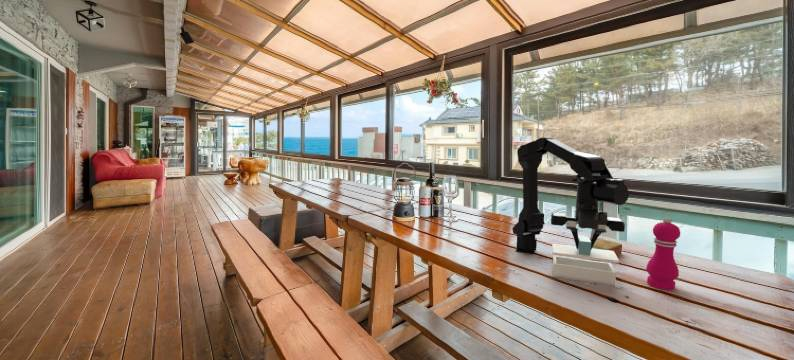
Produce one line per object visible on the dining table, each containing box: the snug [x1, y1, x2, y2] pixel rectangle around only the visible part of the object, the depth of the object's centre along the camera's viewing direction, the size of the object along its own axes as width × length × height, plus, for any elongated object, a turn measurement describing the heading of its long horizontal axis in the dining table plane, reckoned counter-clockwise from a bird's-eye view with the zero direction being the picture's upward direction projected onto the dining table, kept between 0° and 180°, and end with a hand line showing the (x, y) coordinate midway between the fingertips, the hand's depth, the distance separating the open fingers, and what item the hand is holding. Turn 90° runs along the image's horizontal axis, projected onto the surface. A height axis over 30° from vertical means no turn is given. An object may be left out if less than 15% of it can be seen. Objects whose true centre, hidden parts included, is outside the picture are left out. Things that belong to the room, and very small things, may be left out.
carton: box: [591, 237, 623, 262], centre depth 118 cm, size 8×16×4 cm, turn 121°
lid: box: [551, 235, 620, 264], centre depth 99 cm, size 17×9×5 cm, turn 66°
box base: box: [552, 254, 617, 287], centre depth 100 cm, size 16×8×4 cm, turn 66°
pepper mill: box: [645, 216, 681, 291], centre depth 92 cm, size 7×7×20 cm
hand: (583, 249), depth 99 cm, fingers closed on lid, 3 cm apart
